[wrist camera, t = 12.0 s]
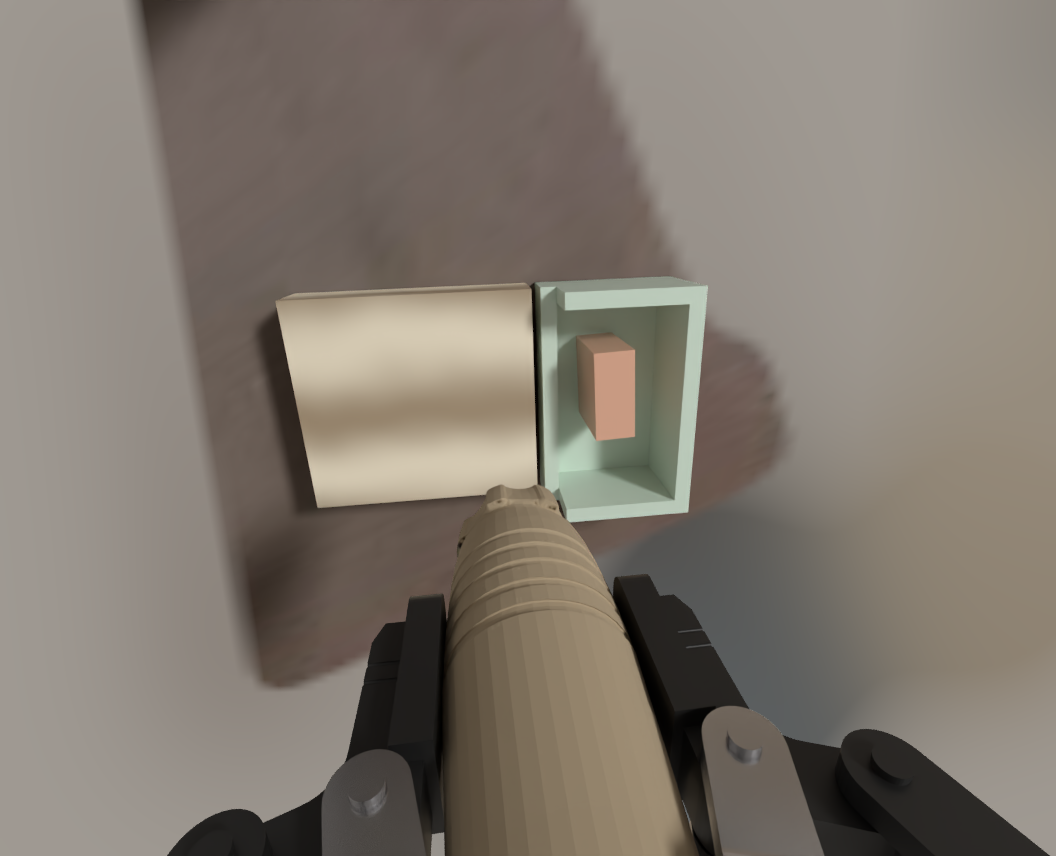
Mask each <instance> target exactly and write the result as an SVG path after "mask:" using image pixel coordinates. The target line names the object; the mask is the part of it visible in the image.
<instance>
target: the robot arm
mask: <svg viewBox="0 0 1056 856" xmlns="http://www.w3.org/2000/svg"><path fill="white" fill-rule="evenodd" d="M613 598H614V601H615V603H616V605H617V607H618V610H619V612H620V615H621V617H622V620H623V623H624V625H625V627H626V630H627V632H628V635H629V637H630V640H631V642H632V645H633V648H634V651H635V652H636V655H637V658H638V661H639V664H640V667H641V671H642V674H643V677H644V680H645V683H646V687H647V690H648V693H649V696H650V700H651V703H652V706H653V709H654V712H655V716H656V719H657V722H658V725H659V728H660V732H661V735H662V738H663V741H664V744H665V748H666V751H667V754H668V757H669V760H670V764H671V767H672V770H673V773H674V776H675V780H676V783H677V786H678V789H679V792H680V796H681V799H682V800H683V802H684V805H685V807H686V810H687V813H688V815H689V818H690V823H689V825H690V828H691V831H692V834H693V837H694V841H695V844H696V847H697V850H698V853H699V856H1050V855H1048V854H1047V853H1046V852H1044V851H1043V850H1042V849H1041V848H1039V847H1038V846H1037V845H1036V844H1035V843H1033V842H1032V841H1031V840H1030V839H1028V838H1027V837H1026V836H1025V835H1023V834H1022V833H1021V832H1020V831H1018V830H1017V829H1016V828H1014V827H1013V826H1012V825H1011V824H1009V823H1008V822H1007V821H1006V820H1004V819H1003V818H1002V817H1001V816H999V815H998V814H997V813H996V812H994V811H993V810H992V809H991V808H989V807H988V806H987V805H986V804H984V803H983V802H982V801H981V800H979V799H978V798H977V797H975V796H974V795H973V794H972V793H971V792H969V791H968V790H967V789H965V788H964V787H963V786H962V785H961V784H959V783H958V782H957V781H956V780H954V779H953V778H952V777H951V776H949V775H948V774H947V773H946V772H944V771H943V770H942V769H941V768H939V767H938V766H937V765H935V764H934V763H933V762H932V761H931V760H929V759H928V758H927V757H926V756H924V755H923V754H922V753H921V752H919V751H918V750H917V749H915V748H914V747H913V746H911V745H910V744H908V743H907V742H905V741H903V740H902V739H899V738H898V737H895V736H893V735H890V734H888V733H885V732H882V731H877V730H871V729H860V730H856V731H853V732H851V733H849V734H848V735H847V736H846V737H845V738H844V740H843V742H842V745H841V748H836V747H831V746H825V745H820V744H814V743H809V742H803V741H799V740H795V739H792V738H789V737H786V736H784V735H782V734H781V732H780V731H779V730H778V729H777V727H776V726H775V725H773V723H771V722H770V721H769V720H768V719H766V718H765V717H764V716H762V715H760V714H759V713H757V712H755V711H752V710H750V709H749V708H748V706H747V705H746V703H745V701H744V699H743V698H742V696H741V694H740V692H739V691H738V689H737V687H736V685H735V684H734V682H733V680H732V679H731V677H730V675H729V673H728V672H727V670H726V668H725V667H724V665H723V663H722V661H721V659H720V658H719V656H718V654H717V653H716V651H715V649H714V647H712V646H711V642H710V640H709V639H708V637H707V635H706V634H705V632H704V631H703V630H702V627H701V625H700V623H699V621H698V620H697V618H696V616H695V615H694V613H693V611H692V609H690V608H689V607H688V606H687V605H686V604H684V603H683V602H682V601H681V600H680V599H678V598H677V597H676V596H675V595H665V596H659V594H658V592H657V590H656V588H655V586H654V584H653V582H652V580H651V578H650V577H649V576H648V574H641V575H631V576H621V577H615V579H614V587H613ZM446 627H447V619H446V610H445V601H444V595H443V594H433V595H423V596H413V597H410V598H409V603H408V609H407V616H406V622H397V623H387V624H385V626H384V627H383V628H382V630H381V631H380V632H379V634H378V635H377V637H376V638H375V639H374V641H373V642H372V646H371V650H370V655H369V659H368V668H367V669H366V673H365V678H364V686H363V687H362V692H361V696H360V700H359V705H358V710H357V714H356V719H355V723H354V728H353V732H352V737H351V742H350V746H349V751H348V755H347V758H346V761H345V763H344V764H343V765H342V766H341V767H340V768H339V769H338V770H337V771H336V772H335V774H334V775H333V776H332V777H331V779H330V781H329V782H328V784H327V786H326V789H325V790H324V791H323V792H322V793H320V794H319V795H318V796H317V797H315V798H314V799H312V800H311V801H309V802H308V803H305V804H303V805H302V806H300V807H297V808H295V809H293V810H291V811H289V812H286V813H284V814H282V815H280V816H278V817H275V818H273V819H271V820H269V821H266V822H264V823H263V822H262V820H261V819H260V818H259V817H258V816H257V815H256V814H254V813H253V812H251V811H248V810H243V809H232V810H228V811H223V812H220V813H218V814H215V815H213V816H211V817H209V818H207V819H205V820H204V821H202V822H200V823H199V824H197V825H196V826H195V827H193V828H192V829H191V830H190V831H189V832H188V833H186V834H185V835H184V836H183V837H182V838H181V839H180V840H179V841H178V843H177V844H176V845H175V846H174V847H173V849H172V850H171V851H170V852H169V854H168V855H167V856H431V841H432V834H435V833H443V832H444V791H443V742H442V688H443V670H444V658H445V655H444V653H445V638H446Z"/></svg>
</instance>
